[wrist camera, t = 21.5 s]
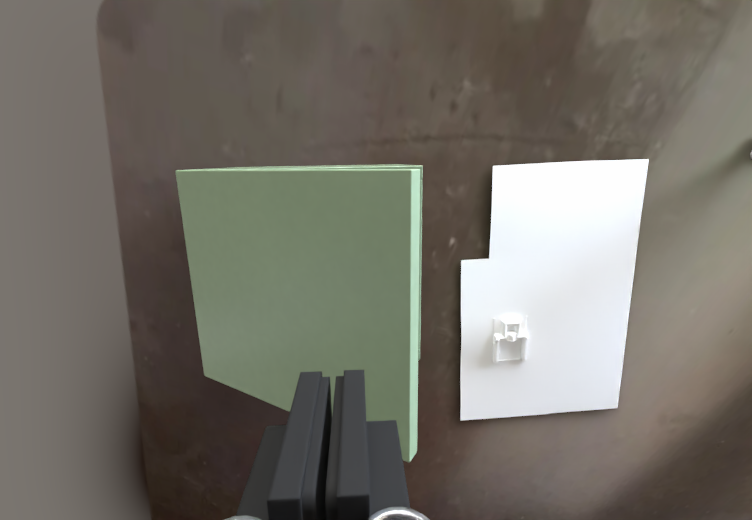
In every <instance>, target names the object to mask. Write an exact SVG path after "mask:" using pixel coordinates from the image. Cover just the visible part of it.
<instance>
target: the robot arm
mask: <svg viewBox="0 0 752 520" xmlns="http://www.w3.org/2000/svg"><path fill="white" fill-rule="evenodd" d="M225 520H429V519H428V518H427V517H426V516H425V515H423V514H421V513H420V512H418V511H416V510H414V509H410V504H409V498H408V491H407V485H406V478H405V472H404V466H403V459H402V453H401V446H400V440H399V434H398V427H397V422H396V420H385V421H366V400H365V375H364V370H344V376H336V381H335V392H334V402H333V413H332V405H331V386H330V377H323V376H322V371H315V372H300V375H299V379H298V383H297V387H296V391H295V395H294V398H293V402H292V406H291V410H290V414H289V418H288V421H287V425H279V426H267V427H266V429H265V431H264V434H263V437H262V440H261V443H260V445H259V448H258V451H257V454H256V457H255V460H254V463H253V466H252V469H251V472H250V475H249V478H248V481H247V484H246V487H245V490H244V493H243V496H242V499H241V502H240V505H239V508H238V511H237V514H236V516H234V517H231V518H228V519H225Z"/></svg>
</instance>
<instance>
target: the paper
mask: <svg viewBox="0 0 752 520" xmlns="http://www.w3.org/2000/svg"><path fill="white" fill-rule="evenodd" d="M648 162H649V159H635V160H601V161H572V162H553V163H536V164H517V165H499V166H493V177H492V210H491V233H490V251H489V259H473V260H461V365H460V390H461V410H460V421H462V420H475V419H489V418H502V417H516V416H529V415H542V414H550V413H560V412H573V411H586V410H600V409H613V408H618V400H619V392H620V383H621V375H622V367H623V359H624V351H625V343H626V334H627V326H628V317H629V309H630V301H631V293H632V285H633V277H634V269H635V261H636V253H637V244H638V236H639V229H640V221H641V213H642V206H643V198H644V191H645V183H646V176H647V169H648Z"/></svg>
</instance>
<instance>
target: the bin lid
mask: <svg viewBox="0 0 752 520" xmlns="http://www.w3.org/2000/svg"><path fill="white" fill-rule="evenodd" d="M176 178H177V185H178V192H179V199H180V206H181V213H182V221H183V228H184V235H185V242H186V249H187V256H188V263H189V270H190V277H191V284H192V291H193V298H194V305H195V313H196V320H197V327H198V334H199V341H200V348H201V355H202V362H203V369H204V375H205V376H207V377H209V378H211V379H214V380H216V381H218V382H221V383H223V384H225V385H228V386H230V387H232V388H235V389H237V390H240V391H242V392H244V393H247V394H249V395H251V396H254V397H256V398H258V399H261V400H263V401H265V402H268V403H270V404H272V405H275V406H277V407H280V408H282V409H284V410H287V411H289V412H290V410H291V406H292V402H293V398H294V395H295V391H296V387H297V383H298V379H299V375H300V372H315V371H322V376H323V377H330V386H331V405H332V413H333V402H334V392H335V381H336V376H344V370H364V375H365V400H366V421H385V420H396V422H397V427H398V434H399V440H400V446H401V453H402V459H403V460H404V461H407V462H410V461H411V460H412V458H413V457H414V455H415V454H416V452H417V408H418V321H419V234H420V169H288V170H176Z"/></svg>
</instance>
